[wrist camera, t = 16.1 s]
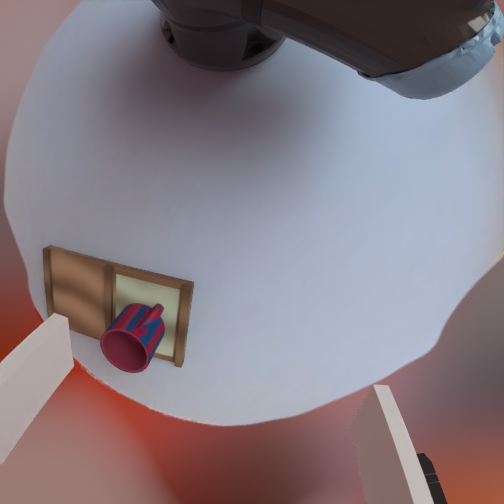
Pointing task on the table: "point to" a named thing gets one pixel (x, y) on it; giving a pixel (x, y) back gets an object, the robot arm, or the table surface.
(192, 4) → the robot arm
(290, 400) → the table surface
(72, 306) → the brown divided flat frame
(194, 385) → the table surface
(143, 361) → the mug
